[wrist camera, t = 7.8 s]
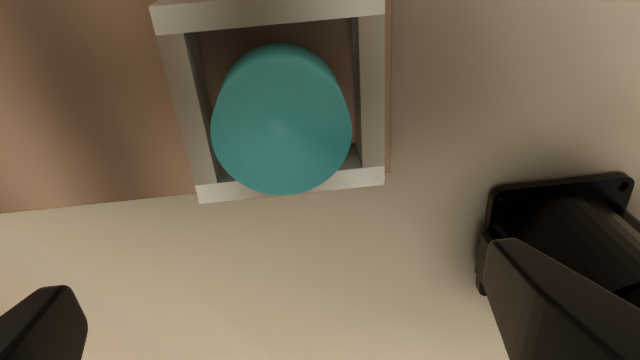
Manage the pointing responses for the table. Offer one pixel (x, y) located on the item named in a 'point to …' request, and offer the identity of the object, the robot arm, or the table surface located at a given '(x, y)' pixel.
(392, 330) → the table surface
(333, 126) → the button
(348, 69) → the picture board
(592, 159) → the table surface
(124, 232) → the table surface
